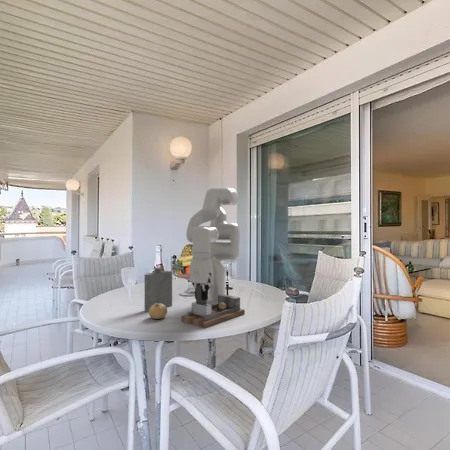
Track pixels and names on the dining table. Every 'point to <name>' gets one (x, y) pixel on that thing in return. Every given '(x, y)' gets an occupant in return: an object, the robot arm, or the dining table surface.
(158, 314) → the onion
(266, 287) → the dining table surface
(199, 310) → the jaw
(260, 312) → the dining table surface
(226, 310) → the cracker base
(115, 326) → the dining table surface
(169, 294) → the hip flask
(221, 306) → the beige round ball
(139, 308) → the dining table surface
